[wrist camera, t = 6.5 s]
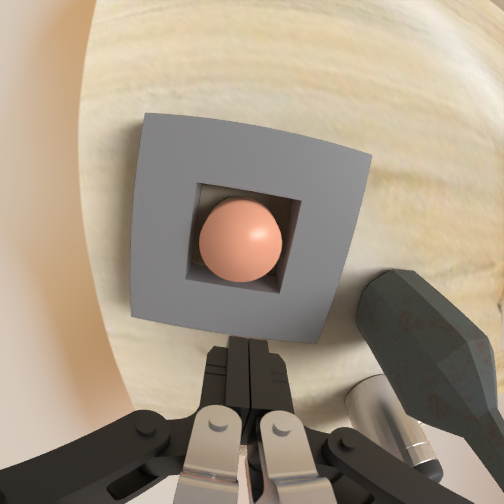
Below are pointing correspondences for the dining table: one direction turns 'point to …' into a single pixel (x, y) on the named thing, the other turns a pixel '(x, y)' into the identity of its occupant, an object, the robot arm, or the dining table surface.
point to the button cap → (240, 239)
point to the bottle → (435, 362)
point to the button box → (252, 179)
